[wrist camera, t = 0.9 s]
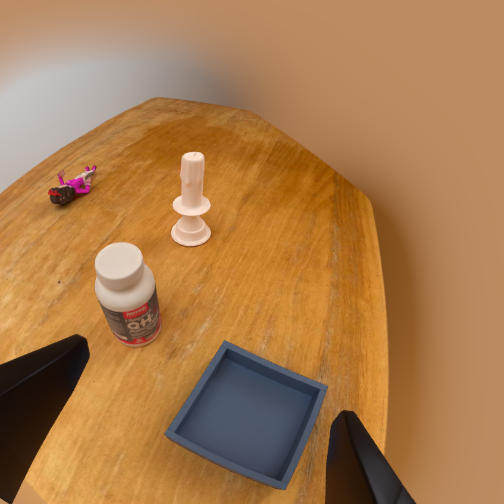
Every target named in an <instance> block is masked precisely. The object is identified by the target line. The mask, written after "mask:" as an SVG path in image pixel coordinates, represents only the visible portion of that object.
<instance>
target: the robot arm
mask: <svg viewBox="0 0 504 504" xmlns="http://www.w3.org/2000/svg"><path fill="white" fill-rule="evenodd" d="M89 357H90V352H89V347H88V342H87V339H86V338H85V337H83V336H81V335H78V334H75V335H72V336H70V337H68V338H65V339H63V340H60V341H58V342H55V343H53V344H50V345H48V346H46V347H43V348H41V349H38V350H36V351H33V352H31V353H28V354H26V355H23V356H21V357H18V358H16V359H13V360H11V361H8V362H6V363H3V364H1V365H0V498H1V499H3V500H4V501H5V502H7V503H9V504H12V503H13V501H14V499H15V497H16V495H17V492H18V490H19V488H20V486H21V484H22V482H23V480H24V478H25V476H26V474H27V472H28V470H29V468H30V466H31V464H32V462H33V460H34V458H35V456H36V455H37V453H38V451H39V449H40V447H41V445H42V444H43V442H44V440H45V438H46V436H47V435H48V433H49V431H50V429H51V428H52V426H53V424H54V423H55V421H56V419H57V417H58V416H59V414H60V412H61V411H62V409H63V407H64V406H65V404H66V403H67V401H68V399H69V398H70V396H71V394H72V393H73V391H74V389H75V387H76V385H77V383H78V381H79V379H80V377H81V374H82V372H83V370H84V368H85V366H86V364H87V362H88V360H89ZM325 504H416V503H415V501H414V500H413V499H412V498H411V496H410V494H409V493H408V492H407V490H406V489H405V487H404V486H403V485H402V483H401V481H400V480H399V478H398V477H397V475H396V474H395V472H394V471H393V469H392V468H391V466H390V465H389V463H388V462H387V460H386V459H385V457H384V456H383V454H382V453H381V451H380V450H379V448H378V447H377V445H376V444H375V442H374V441H373V439H372V438H371V436H370V435H369V433H368V432H367V430H366V429H365V427H364V426H363V424H362V423H361V421H360V420H359V418H358V417H357V415H356V414H355V412H353V411H348V410H343V411H341V412H340V413H339V415H338V416H337V417H336V419H335V420H334V421H333V423H332V425H331V430H330V438H329V447H328V455H327V463H326V493H325Z"/></svg>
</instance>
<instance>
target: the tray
mask: <svg viewBox="0 0 504 504" xmlns="http://www.w3.org/2000/svg"><path fill="white" fill-rule="evenodd" d="M327 388H328V386H326V385H324V384H321V383H319V382H316V381H314V380H311V379H309V378H306V377H304V376H302V375H299V374H297V373H295V372H292V371H290V370H288V369H285V368H283V367H281V366H278V365H276V364H274V363H272V362H269V361H267V360H265V359H263V358H261V357H259V356H256V355H254V354H252V353H250V352H248V351H246V350H244V349H242V348H240V347H238V346H236V345H234V344H232V343H229V342H227V341H225V340H224V342H223V343H222V345H221V346H220V348H219V350H218V351H217V353H216V354H215V356H214V358H213V359H212V361H211V362H210V364H209V365H208V367H207V369H206V370H205V372H204V373H203V375H202V377H201V378H200V380H199V381H198V383H197V384H196V386H195V387H194V389H193V391H192V392H191V394H190V395H189V397H188V398H187V400H186V401H185V403H184V405H183V406H182V408H181V409H180V411H179V412H178V414H177V415H176V417H175V418H174V420H173V421H172V423H171V424H170V426H169V428H168V429H167V431H166V432H165V434H164V435H165V436H166V437H167V438H168V439H169V440H171V441H173V442H174V443H176V444H178V445H180V446H181V447H183V448H185V449H187V450H189V451H191V452H192V453H194V454H196V455H198V456H200V457H202V458H204V459H206V460H208V461H210V462H212V463H214V464H216V465H218V466H221V467H223V468H225V469H227V470H229V471H232V472H234V473H236V474H239V475H241V476H243V477H246V478H248V479H251V480H253V481H256V482H259V483H261V484H264V485H267V486H270V487H272V488H275V489H281V490H285V489H286V487H287V485H288V483H289V481H290V479H291V477H292V475H293V473H294V471H295V468H296V466H297V464H298V462H299V460H300V457H301V455H302V453H303V450H304V448H305V446H306V443H307V441H308V438H309V436H310V434H311V431H312V429H313V426H314V424H315V421H316V418H317V416H318V413H319V410H320V408H321V405H322V402H323V399H324V397H325V394H326V391H327Z"/></svg>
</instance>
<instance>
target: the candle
mask: <svg viewBox="0 0 504 504" xmlns="http://www.w3.org/2000/svg"><path fill="white" fill-rule="evenodd" d="M180 177H181V180H182V192H181V196H179V197H177V198H176V199H175V200H174V202H173V208H174V210H175V211H176V212H178V213H180V214H182V215H183V216H182V218H180V219H179V220H178V222H177V224H175V225H174V226H173V228H172V230H171V236H172V238H173V239H174V240H175V241H176V242H177V243H179V244H181V245H184V246H197V245H201V244H203V243H205V242H206V241H207V240H208V239H209V237H210V234H211V231H210V228H209V227H208V226H207V225H206V224H205V221H204V220H203V219H202V218H200V215H201V214H204V213H205V212H207V211H208V210H209V208H210V202H209V200H208V199H207V198H206V197H204V196H202V192H203V178H204V156H203V154H201V153H200V152H189V153H186V154H185V155H183V156H182V160H181V172H180Z"/></svg>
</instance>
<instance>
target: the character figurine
mask: <svg viewBox="0 0 504 504" xmlns="http://www.w3.org/2000/svg"><path fill="white" fill-rule="evenodd" d="M85 169H86V170H85V171H86V172H84V173H82V174H80V175H78V176H77V177H76V178H75V179H73V180H68V181H67V182H66V183H65V184H64V181H63V179H62V177H63V176H64V175H65V173H64V170H63V171H61V172H59V173H58V177H59V180H60V184H61V185H59V186H58V187H56V188H51V189H50V190H49V192H48V194H50V200H51V202H52V203H54V204H60V205H62V204H64V203H68V202H69V201H71V200H73V196H74V195H75V194H76V193H89V188H90V186H91V182H92V179H89V177H91V175H93V174H94V173H95V170H96V166H95V165H94V166H93V168H92V170H89V167H86V168H85ZM85 181H86V184H85ZM83 184H85V185H86V187H85V190H84V189H79V187H81V186H82V185H83Z"/></svg>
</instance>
